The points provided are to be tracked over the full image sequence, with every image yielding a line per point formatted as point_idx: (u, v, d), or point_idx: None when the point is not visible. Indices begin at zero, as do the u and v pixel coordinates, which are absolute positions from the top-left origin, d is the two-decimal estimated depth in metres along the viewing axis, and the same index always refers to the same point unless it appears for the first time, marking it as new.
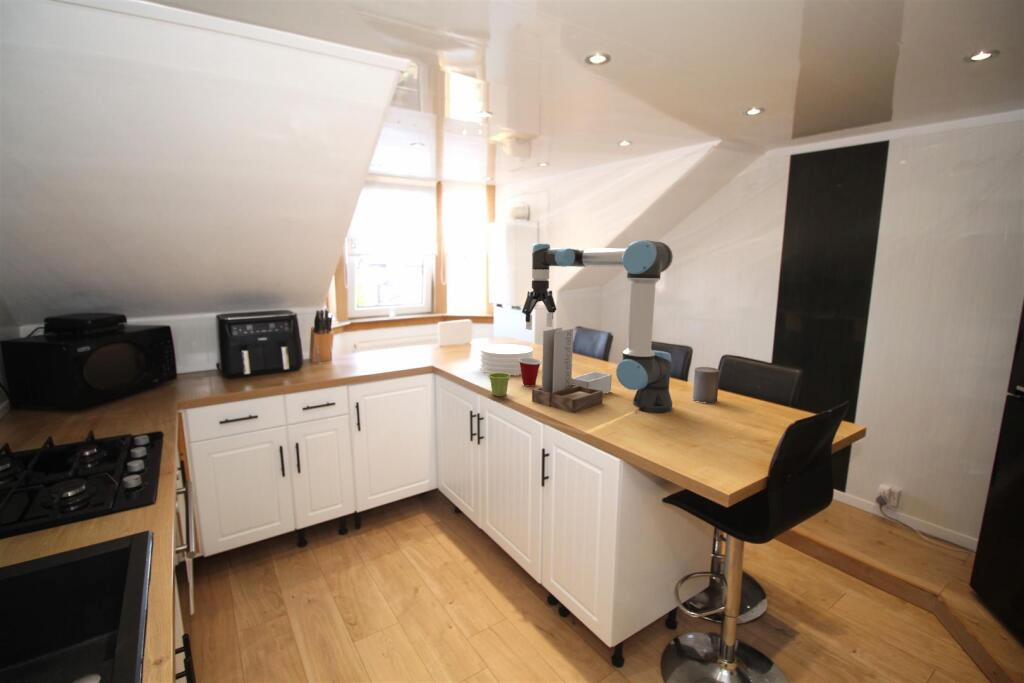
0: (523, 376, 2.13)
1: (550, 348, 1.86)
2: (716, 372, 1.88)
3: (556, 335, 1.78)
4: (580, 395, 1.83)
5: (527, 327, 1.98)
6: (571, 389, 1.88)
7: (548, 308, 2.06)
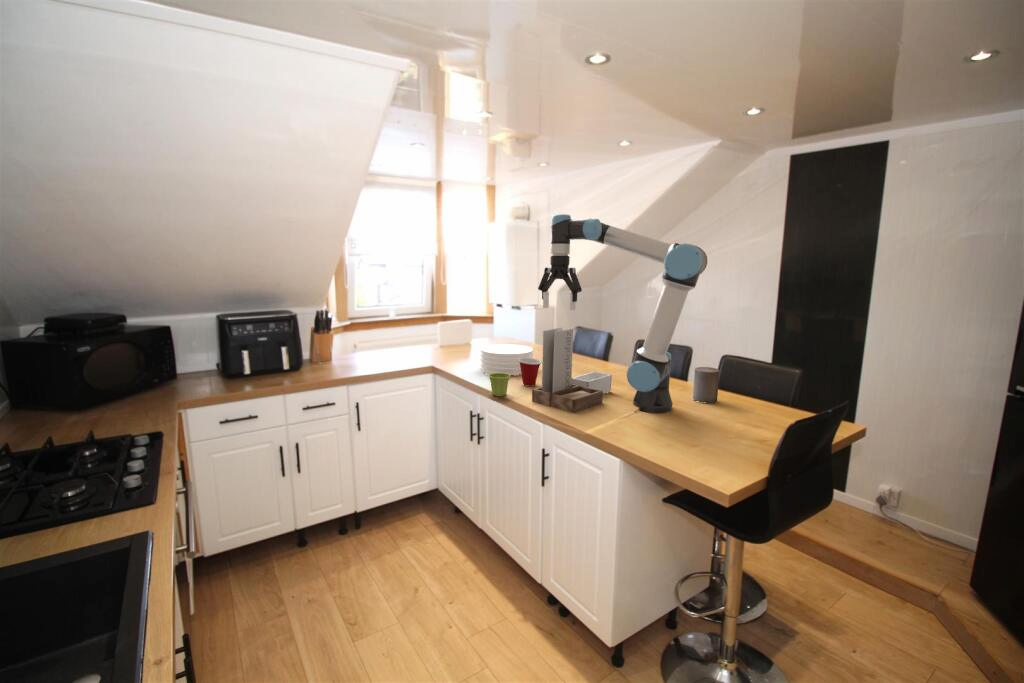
0: (523, 376, 2.13)
1: (550, 348, 1.86)
2: (716, 372, 1.88)
3: (556, 335, 1.79)
4: (581, 394, 1.83)
5: None
6: (571, 389, 1.88)
7: None
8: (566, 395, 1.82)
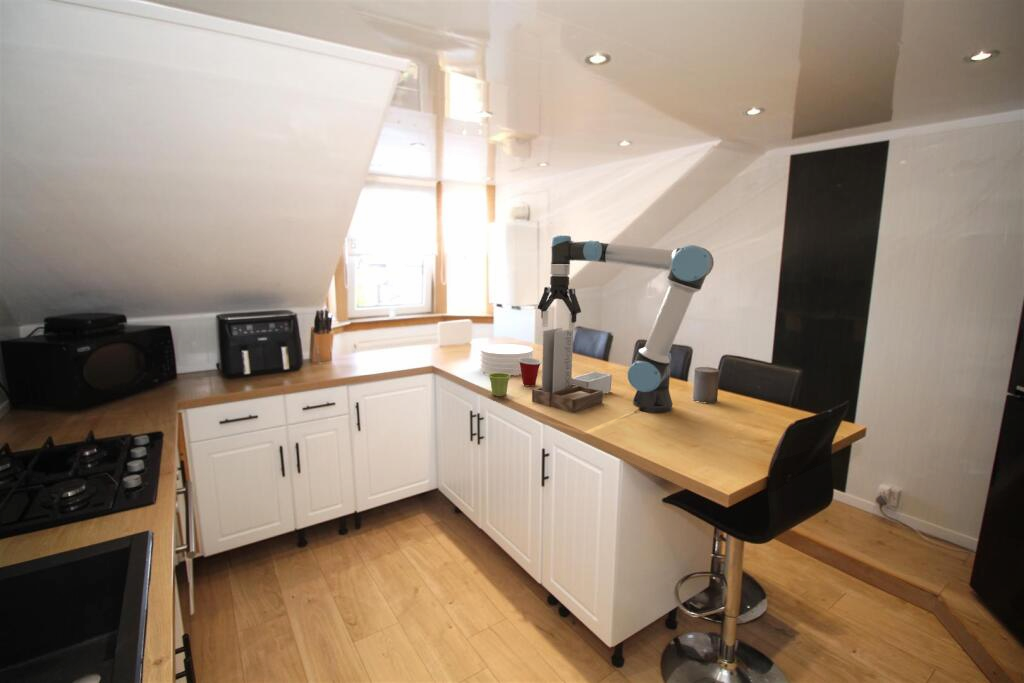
0: (523, 376, 2.13)
1: (550, 348, 1.86)
2: (716, 372, 1.88)
3: (556, 335, 1.78)
4: (580, 395, 1.83)
5: None
6: (571, 389, 1.88)
7: None
8: (565, 395, 1.82)
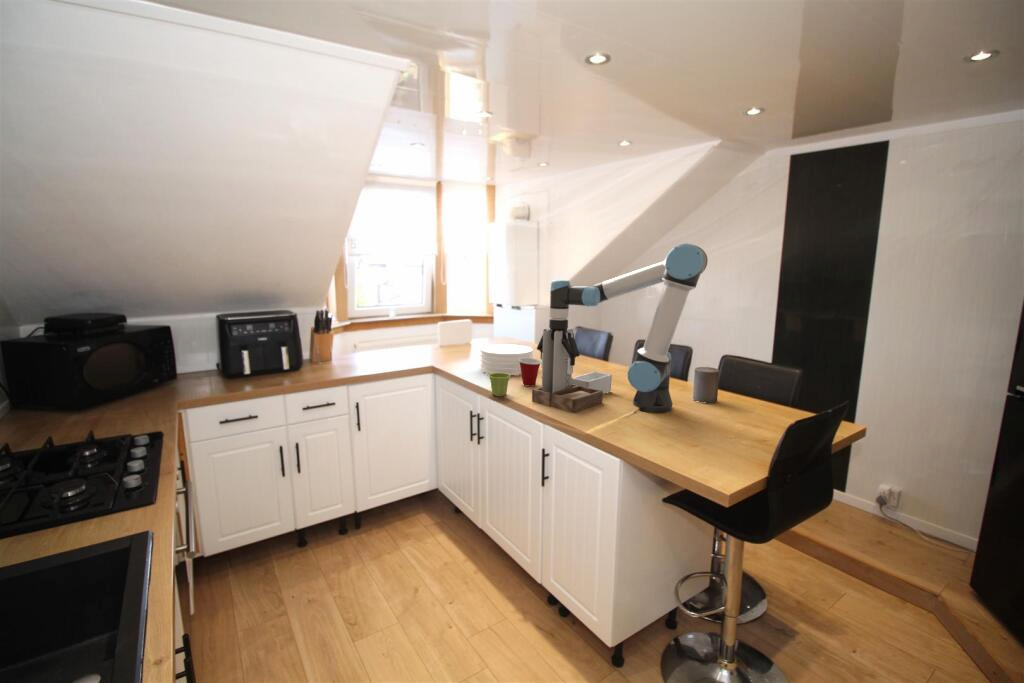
0: (523, 376, 2.13)
1: (550, 348, 1.86)
2: (716, 372, 1.88)
3: (556, 335, 1.78)
4: (580, 395, 1.83)
5: None
6: (571, 389, 1.88)
7: None
8: (565, 395, 1.82)
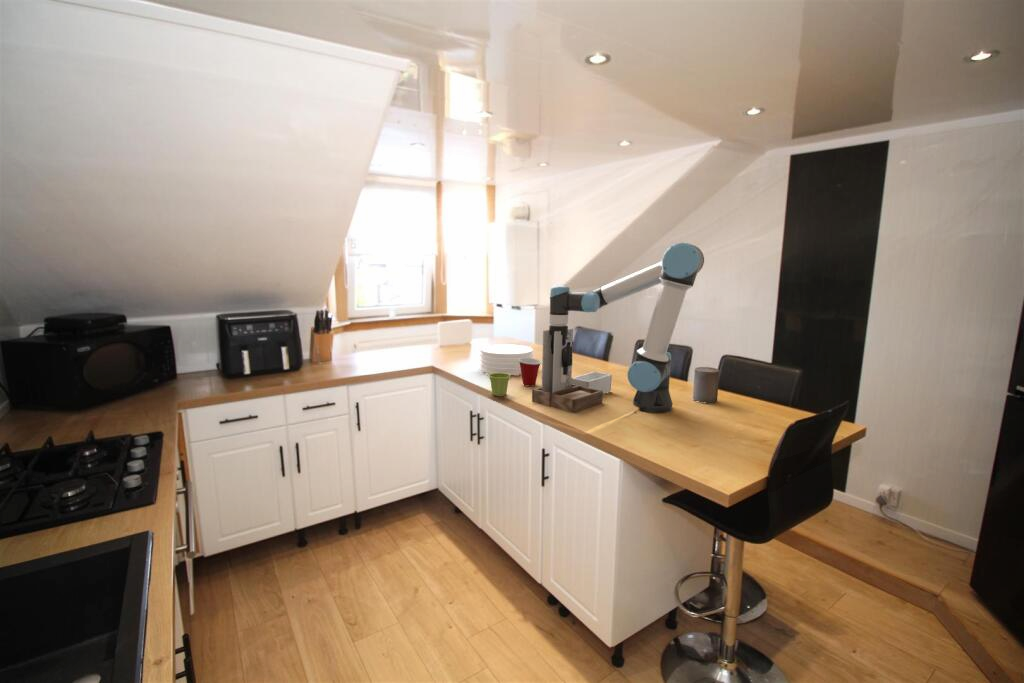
0: (523, 376, 2.13)
1: (550, 348, 1.86)
2: (716, 372, 1.88)
3: (556, 335, 1.78)
4: (580, 394, 1.83)
5: None
6: (571, 389, 1.88)
7: None
8: (566, 395, 1.82)
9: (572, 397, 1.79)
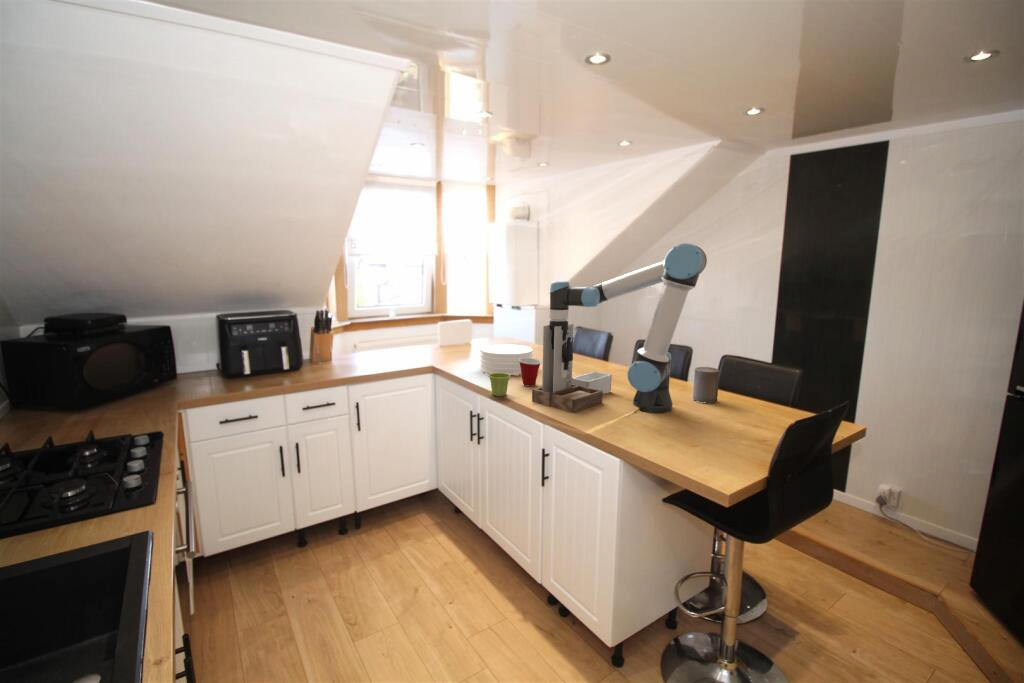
0: (523, 376, 2.13)
1: (550, 343, 1.86)
2: (716, 372, 1.88)
3: (556, 330, 1.78)
4: (580, 394, 1.83)
5: None
6: (571, 389, 1.88)
7: None
8: (566, 395, 1.82)
9: (572, 397, 1.79)
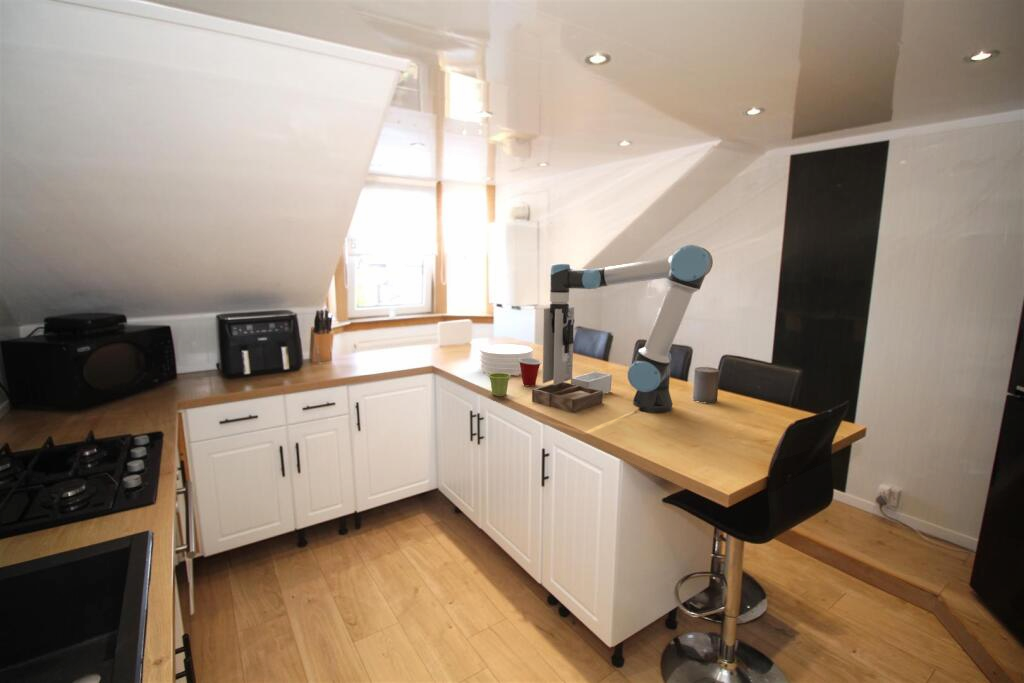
0: (523, 376, 2.13)
1: (551, 327, 1.85)
2: (716, 372, 1.88)
3: (557, 313, 1.77)
4: (579, 394, 1.83)
5: None
6: (571, 389, 1.88)
7: None
8: (565, 395, 1.82)
9: (571, 397, 1.79)
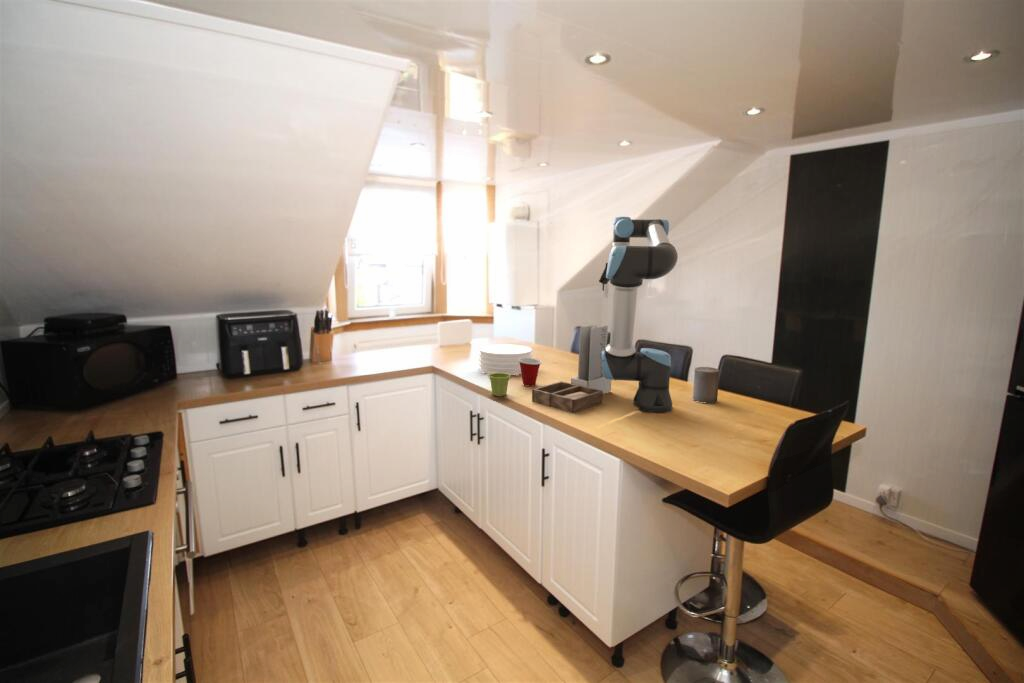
0: (523, 376, 2.13)
1: (586, 343, 1.98)
2: (716, 372, 1.88)
3: (592, 331, 1.90)
4: (579, 395, 1.83)
5: None
6: (571, 389, 1.88)
7: None
8: (565, 396, 1.82)
9: None
